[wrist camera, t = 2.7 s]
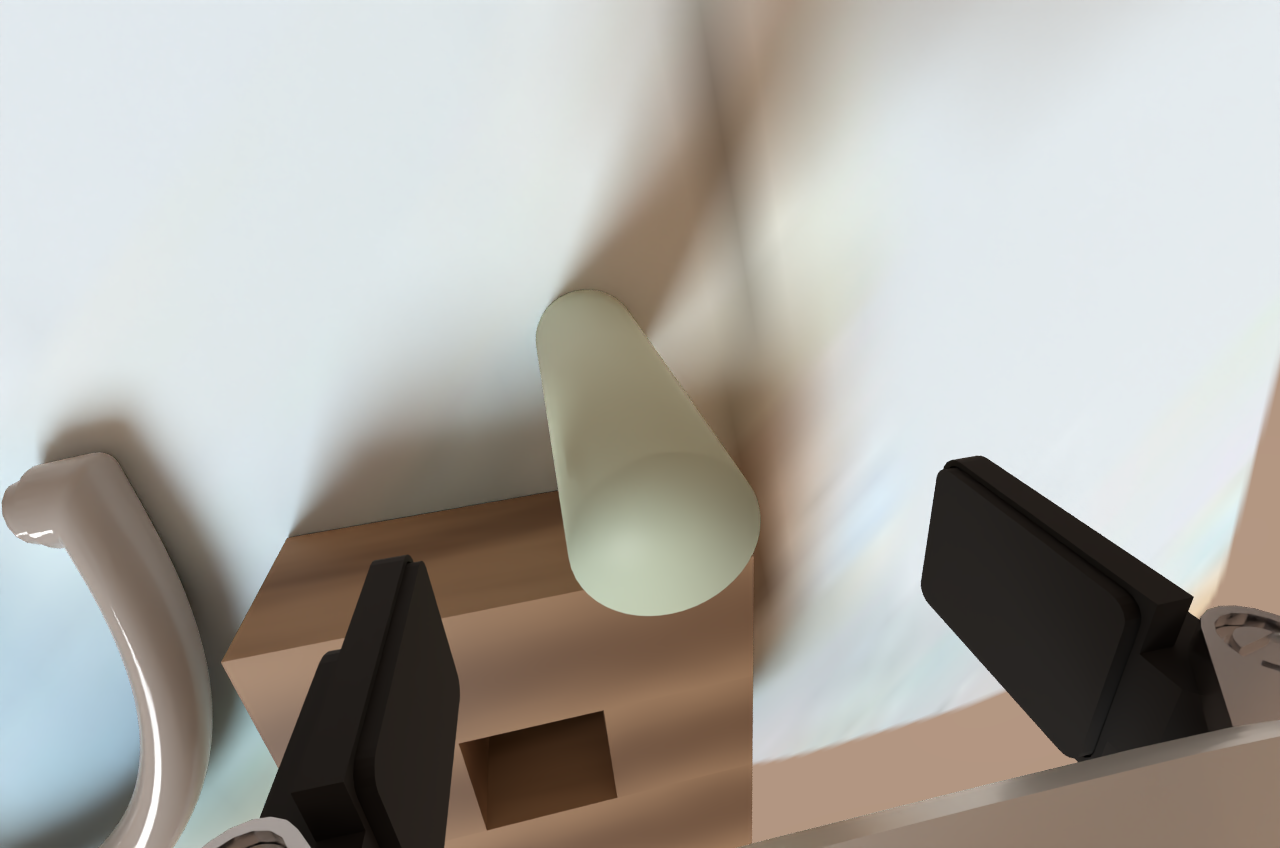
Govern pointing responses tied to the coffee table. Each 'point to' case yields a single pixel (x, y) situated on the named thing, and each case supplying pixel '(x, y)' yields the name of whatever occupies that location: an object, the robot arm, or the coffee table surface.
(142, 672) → the faucet
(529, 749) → the socket block
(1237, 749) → the robot arm
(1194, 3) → the coffee table surface
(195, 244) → the coffee table surface
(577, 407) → the peg
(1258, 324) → the coffee table surface
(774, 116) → the coffee table surface
